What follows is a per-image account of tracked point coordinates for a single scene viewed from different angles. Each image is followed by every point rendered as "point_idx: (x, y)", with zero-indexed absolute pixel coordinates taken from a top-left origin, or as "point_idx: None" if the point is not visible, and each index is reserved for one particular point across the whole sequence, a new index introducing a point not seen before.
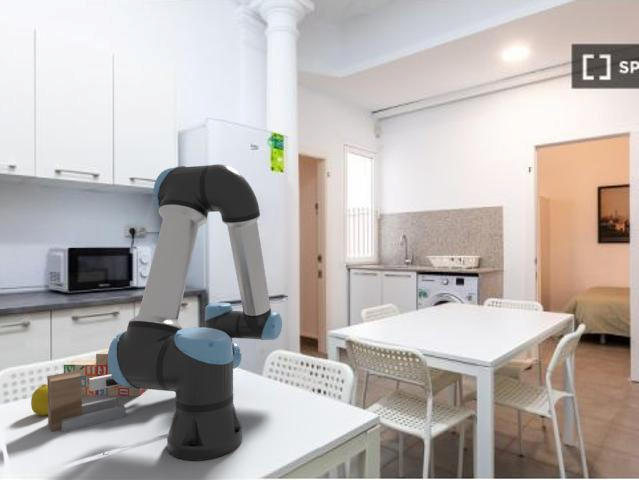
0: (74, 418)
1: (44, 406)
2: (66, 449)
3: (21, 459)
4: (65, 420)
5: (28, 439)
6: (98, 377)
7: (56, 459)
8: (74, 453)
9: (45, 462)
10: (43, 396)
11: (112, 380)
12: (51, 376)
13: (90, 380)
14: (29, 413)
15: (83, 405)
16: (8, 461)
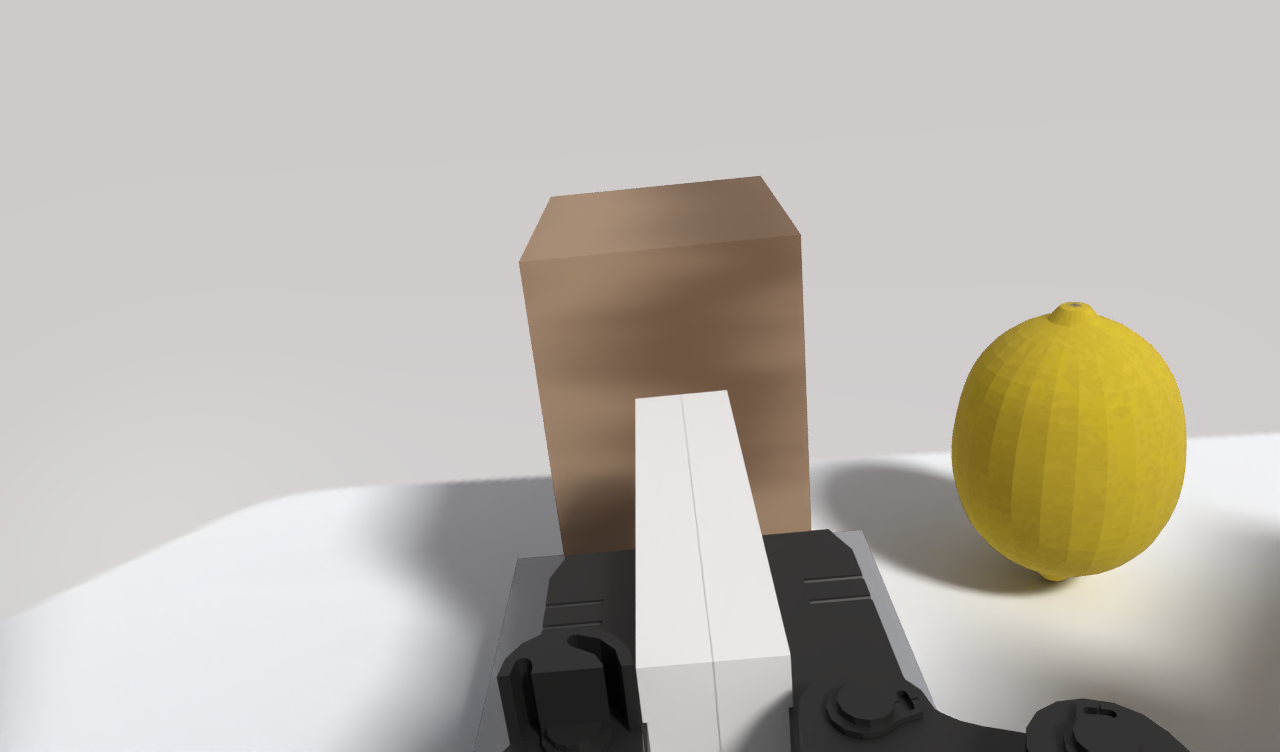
0: (523, 616)
1: (955, 468)
2: (264, 665)
3: (377, 520)
4: (532, 571)
5: None
6: (681, 446)
7: (183, 623)
8: (143, 696)
9: (212, 588)
10: (965, 386)
11: (547, 621)
12: (724, 185)
13: (636, 406)
14: (1194, 513)
15: None
16: (411, 490)
